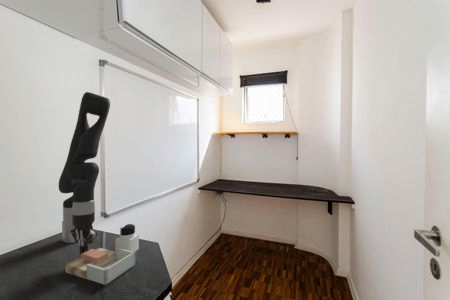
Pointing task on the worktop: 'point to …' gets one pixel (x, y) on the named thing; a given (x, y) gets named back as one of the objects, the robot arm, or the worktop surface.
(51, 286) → the worktop surface
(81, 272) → the wooden slab
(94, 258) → the tile
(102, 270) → the box
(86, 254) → the tile
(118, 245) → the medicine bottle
